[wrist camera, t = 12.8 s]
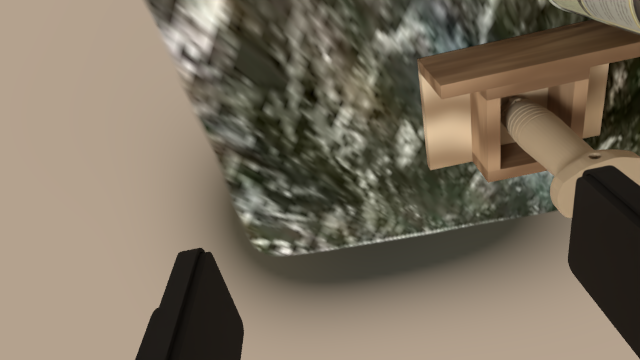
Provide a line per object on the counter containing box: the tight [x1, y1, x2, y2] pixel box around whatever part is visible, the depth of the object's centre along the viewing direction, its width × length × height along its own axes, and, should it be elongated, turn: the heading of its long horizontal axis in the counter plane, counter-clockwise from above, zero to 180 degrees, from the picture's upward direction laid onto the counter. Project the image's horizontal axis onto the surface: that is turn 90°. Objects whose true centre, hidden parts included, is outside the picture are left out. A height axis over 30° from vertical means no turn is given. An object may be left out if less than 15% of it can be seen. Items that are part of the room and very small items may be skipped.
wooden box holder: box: [417, 20, 640, 182], centre depth 41 cm, size 12×18×8 cm, turn 102°
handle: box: [500, 96, 640, 218], centre depth 38 cm, size 5×6×15 cm
